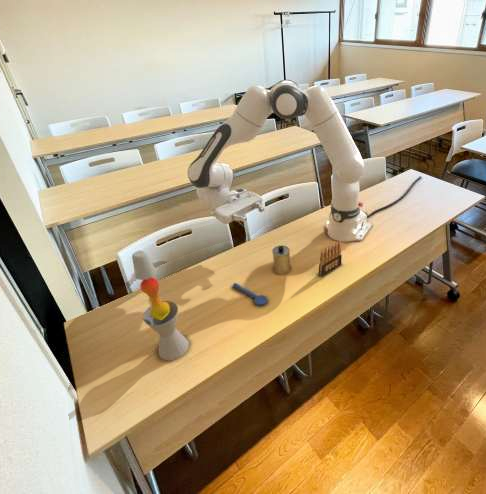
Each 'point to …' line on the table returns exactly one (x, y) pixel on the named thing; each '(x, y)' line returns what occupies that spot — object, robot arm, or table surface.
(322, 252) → the ammunition clip
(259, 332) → the table surface
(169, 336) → the lava lamp
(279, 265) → the pot
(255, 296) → the spoon
